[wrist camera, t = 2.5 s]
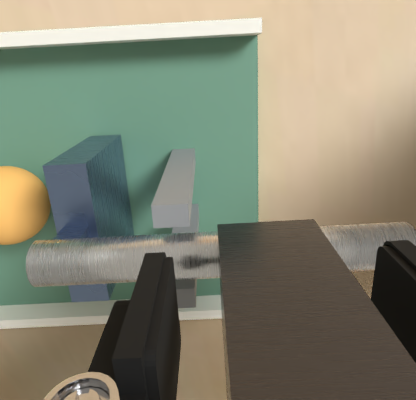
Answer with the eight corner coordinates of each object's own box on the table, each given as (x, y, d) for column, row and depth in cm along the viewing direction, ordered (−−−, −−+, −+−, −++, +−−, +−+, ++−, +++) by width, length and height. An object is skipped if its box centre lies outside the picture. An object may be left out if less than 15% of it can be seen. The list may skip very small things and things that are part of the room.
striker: (335, 123, 19) (737, 299, 5) (328, 228, 21) (590, 572, 7) (90, 136, 19) (-251, 347, 5) (107, 239, 21) (-97, 601, 7)
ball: (54, 155, 20) (19, 176, 16) (68, 223, 21) (38, 257, 17) (-19, 159, 20) (-72, 181, 16) (-1, 226, 21) (-45, 261, 17)
